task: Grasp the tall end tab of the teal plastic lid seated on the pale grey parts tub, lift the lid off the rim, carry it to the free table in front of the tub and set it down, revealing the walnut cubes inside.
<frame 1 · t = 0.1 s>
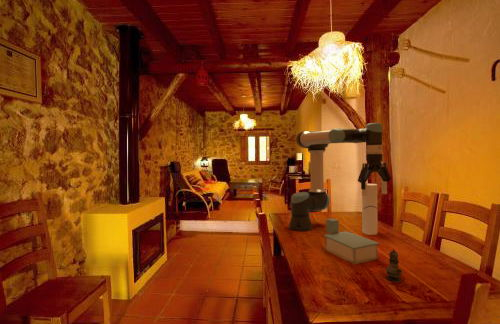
hand: (374, 194, 139), 28 cm above the table, fingers open, 13 cm apart
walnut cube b: (360, 256, 129), resting on tub
lid: (349, 240, 132), point 7 cm above the table, touching tub
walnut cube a: (339, 251, 136), resting on tub
tub: (350, 254, 132), on the table
container: (369, 233, 166), on the table
dark statuette: (393, 279, 106), on the table
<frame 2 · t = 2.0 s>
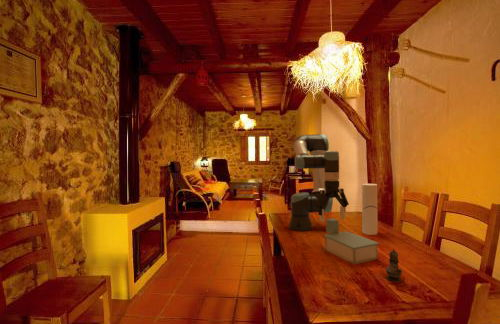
hand: (332, 220, 144), 14 cm above the table, fingers open, 13 cm apart
nothing on the table moved.
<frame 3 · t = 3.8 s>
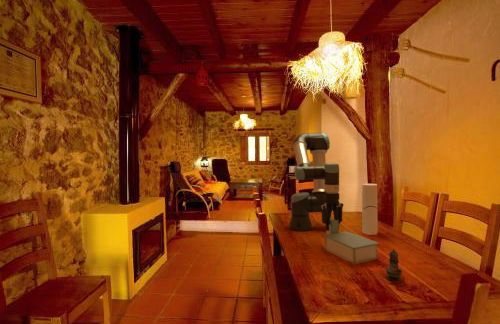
hand: (332, 235, 144), 6 cm above the table, fingers closed on lid, 4 cm apart
lid: (349, 240, 132), point 7 cm above the table, touching gripper, tub
everything else where it was.
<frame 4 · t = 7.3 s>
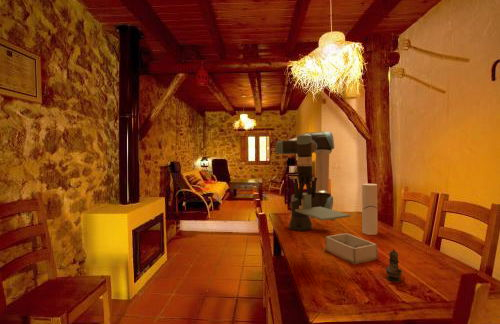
hand: (305, 211, 137), 21 cm above the table, fingers closed on lid, 4 cm apart
lid: (321, 213, 125), point 22 cm above the table, touching gripper
everything else where it was.
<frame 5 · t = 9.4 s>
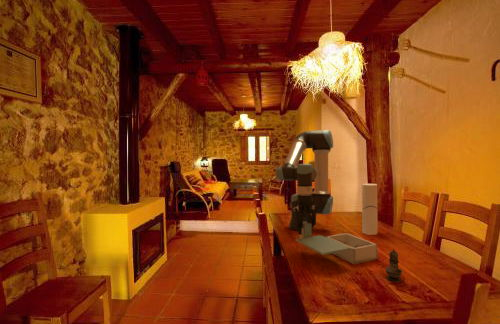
hand: (305, 239, 138), 6 cm above the table, fingers closed on lid, 4 cm apart
lid: (321, 244, 125), point 7 cm above the table, touching gripper
everything else where it was.
when the fingers open (1 cm above the table, at t = 11.0 s): lid stays where it is, point 1 cm above the table.
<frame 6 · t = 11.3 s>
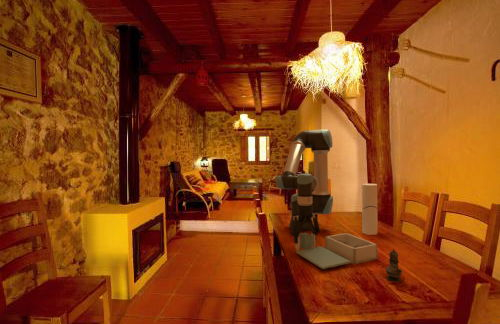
hand: (305, 248, 138), 2 cm above the table, fingers open, 9 cm apart
lid: (321, 257, 126), point 1 cm above the table
everything else where it was.
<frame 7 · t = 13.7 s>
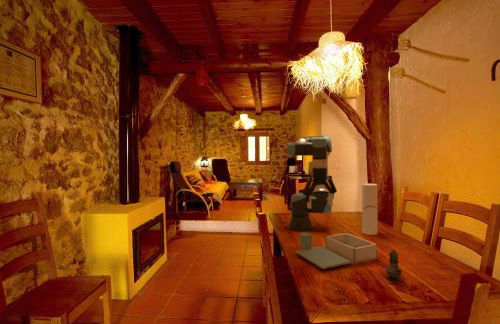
hand: (320, 206, 145), 21 cm above the table, fingers open, 13 cm apart
nothing on the table moved.
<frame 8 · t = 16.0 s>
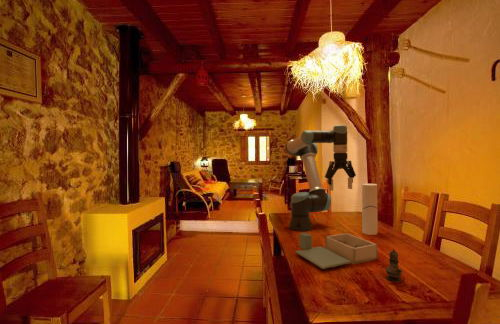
hand: (340, 189, 154), 29 cm above the table, fingers open, 13 cm apart
nothing on the table moved.
at the end: lid inside the target area (0.0 cm from its centre), point 1.4 cm above the table; lid touching table; the gripper is holding nothing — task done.
